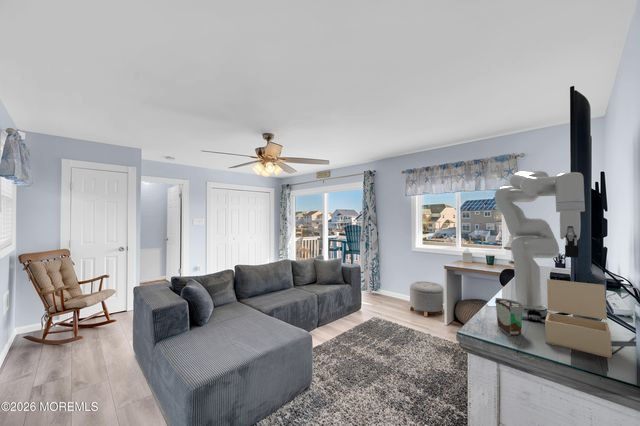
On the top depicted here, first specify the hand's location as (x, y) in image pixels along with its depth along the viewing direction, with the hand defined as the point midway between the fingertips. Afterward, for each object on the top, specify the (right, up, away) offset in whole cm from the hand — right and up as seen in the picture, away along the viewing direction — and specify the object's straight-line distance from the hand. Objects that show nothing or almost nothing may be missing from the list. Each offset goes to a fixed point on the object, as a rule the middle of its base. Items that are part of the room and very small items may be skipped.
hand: (572, 256), depth 95 cm
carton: (-9, -26, -11) cm, 30 cm away
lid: (-4, -13, -6) cm, 15 cm away
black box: (-5, -28, +10) cm, 30 cm away
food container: (-22, -26, -1) cm, 34 cm away
